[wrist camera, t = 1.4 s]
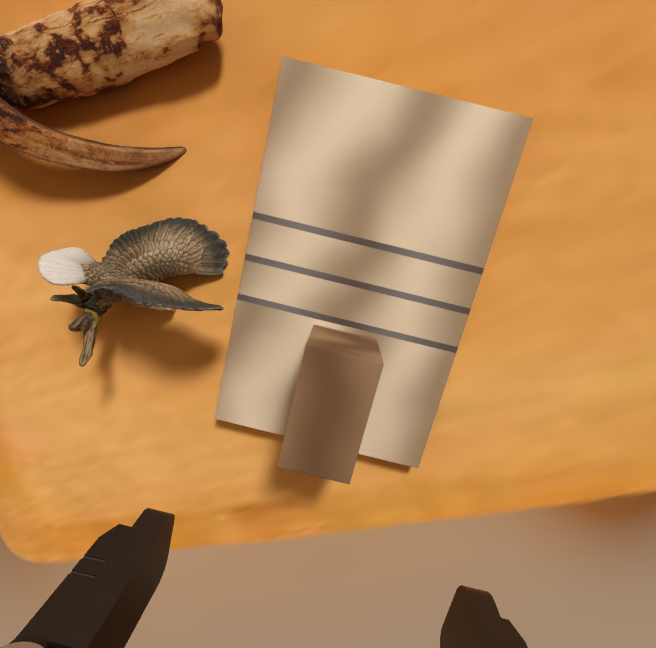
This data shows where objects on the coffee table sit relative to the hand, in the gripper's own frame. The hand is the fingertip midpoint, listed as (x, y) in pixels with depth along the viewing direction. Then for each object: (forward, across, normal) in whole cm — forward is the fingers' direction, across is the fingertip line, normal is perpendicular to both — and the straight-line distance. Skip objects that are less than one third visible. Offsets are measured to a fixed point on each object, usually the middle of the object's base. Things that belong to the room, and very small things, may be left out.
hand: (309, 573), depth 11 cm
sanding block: (+15, 0, 0) cm, 15 cm away
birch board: (+16, 0, -6) cm, 17 cm away
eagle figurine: (+16, +12, -4) cm, 21 cm away
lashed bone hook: (+16, +18, -13) cm, 28 cm away
